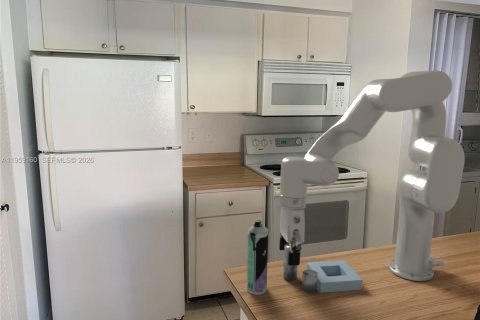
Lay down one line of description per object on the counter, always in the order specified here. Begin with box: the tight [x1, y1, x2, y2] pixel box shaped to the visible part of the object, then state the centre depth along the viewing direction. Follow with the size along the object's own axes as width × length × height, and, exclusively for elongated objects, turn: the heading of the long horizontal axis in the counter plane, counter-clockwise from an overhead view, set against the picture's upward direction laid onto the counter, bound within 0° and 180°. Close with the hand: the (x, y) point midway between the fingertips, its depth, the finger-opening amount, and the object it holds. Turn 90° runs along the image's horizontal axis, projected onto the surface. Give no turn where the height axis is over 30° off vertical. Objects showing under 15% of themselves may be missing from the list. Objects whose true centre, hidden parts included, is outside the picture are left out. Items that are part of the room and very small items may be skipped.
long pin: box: [282, 243, 299, 282], centre depth 108 cm, size 4×4×10 cm
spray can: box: [246, 220, 269, 296], centre depth 100 cm, size 6×6×20 cm
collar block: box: [305, 259, 363, 294], centre depth 107 cm, size 12×12×3 cm
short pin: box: [301, 269, 318, 295], centre depth 102 cm, size 4×4×5 cm
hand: (288, 257), depth 107 cm, fingers open, 9 cm apart
